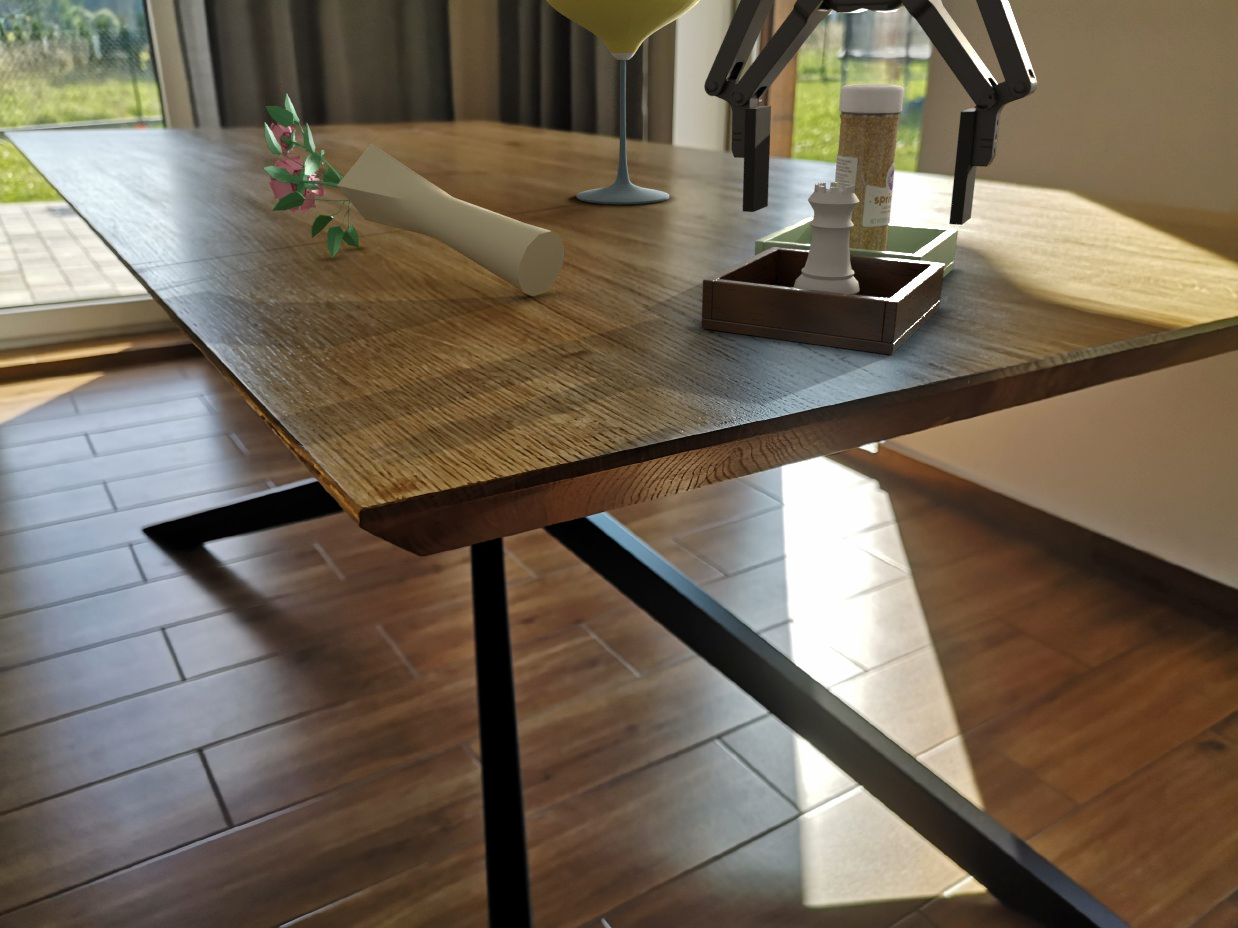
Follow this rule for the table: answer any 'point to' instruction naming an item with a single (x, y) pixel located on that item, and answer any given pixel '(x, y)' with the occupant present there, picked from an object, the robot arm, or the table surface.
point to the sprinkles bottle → (869, 157)
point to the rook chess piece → (830, 241)
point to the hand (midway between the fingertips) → (853, 215)
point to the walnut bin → (823, 301)
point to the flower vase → (409, 208)
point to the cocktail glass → (622, 69)
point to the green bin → (900, 245)
